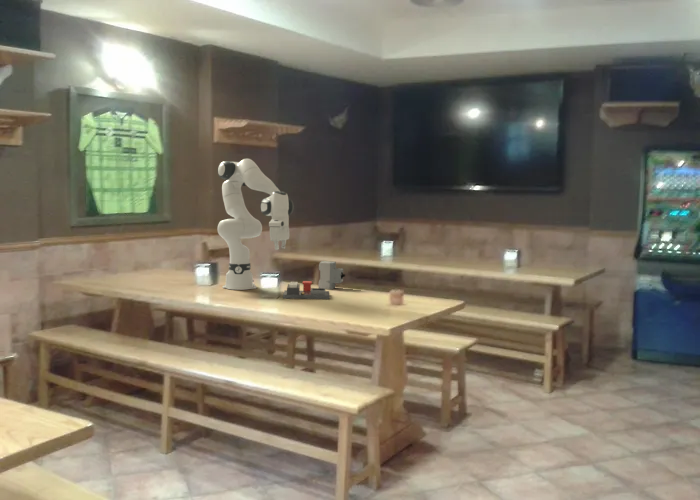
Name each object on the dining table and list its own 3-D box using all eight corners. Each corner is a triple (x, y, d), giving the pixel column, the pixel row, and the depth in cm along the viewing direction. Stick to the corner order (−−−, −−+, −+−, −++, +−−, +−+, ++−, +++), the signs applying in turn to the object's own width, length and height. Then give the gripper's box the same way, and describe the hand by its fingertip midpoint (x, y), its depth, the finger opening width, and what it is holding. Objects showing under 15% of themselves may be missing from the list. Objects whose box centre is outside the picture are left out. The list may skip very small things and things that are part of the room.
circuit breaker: (342, 290, 387) (343, 263, 386) (318, 288, 390) (318, 262, 388) (345, 288, 394) (346, 262, 393) (321, 286, 397) (322, 261, 396)
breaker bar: (290, 287, 366) (290, 281, 366) (297, 287, 367) (297, 281, 366) (289, 290, 355) (289, 284, 355) (296, 290, 356) (297, 284, 355)
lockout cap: (302, 291, 377) (302, 281, 376) (311, 292, 377) (311, 281, 377) (302, 293, 372) (302, 282, 371) (311, 293, 372) (311, 282, 372)
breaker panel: (284, 294, 368) (284, 283, 368) (329, 294, 369) (329, 284, 369) (283, 298, 354) (283, 287, 354) (329, 299, 355) (329, 288, 355)
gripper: (281, 222, 366) (281, 247, 367) (267, 223, 346) (267, 250, 347) (292, 222, 365) (292, 248, 366) (279, 223, 345) (279, 250, 346)
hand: (280, 249), depth 356 cm, fingers open, 8 cm apart
